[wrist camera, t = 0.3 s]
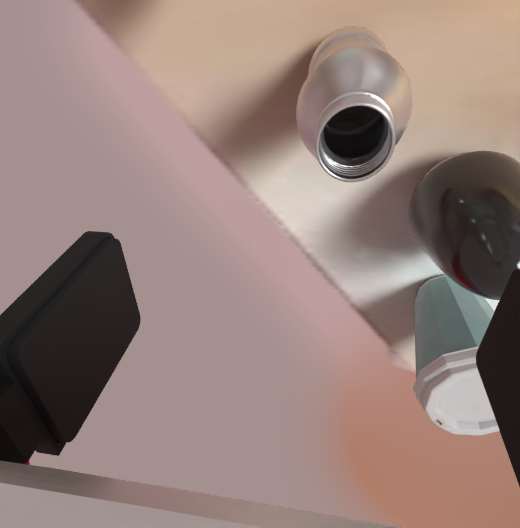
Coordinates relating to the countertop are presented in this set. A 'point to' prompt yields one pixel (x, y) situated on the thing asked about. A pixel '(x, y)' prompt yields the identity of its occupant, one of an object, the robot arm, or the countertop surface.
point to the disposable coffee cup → (451, 357)
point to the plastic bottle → (353, 104)
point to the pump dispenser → (471, 219)
